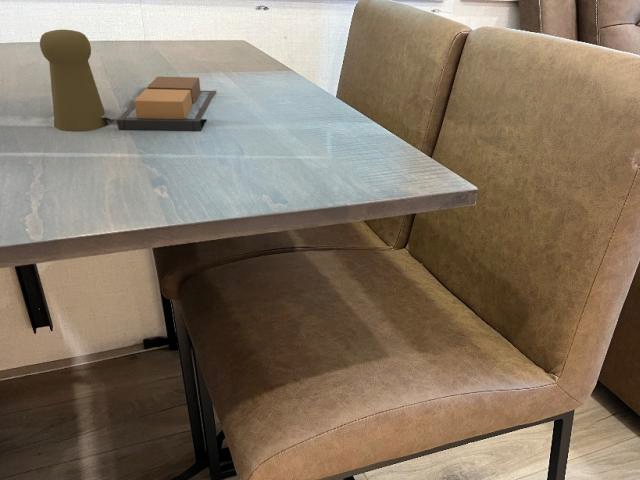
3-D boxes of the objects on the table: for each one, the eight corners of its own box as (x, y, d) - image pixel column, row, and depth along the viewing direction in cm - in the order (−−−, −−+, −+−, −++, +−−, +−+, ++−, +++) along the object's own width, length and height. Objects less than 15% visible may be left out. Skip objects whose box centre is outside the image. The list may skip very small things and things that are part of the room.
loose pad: (138, 127, 77) (133, 100, 76) (149, 114, 82) (145, 88, 81) (185, 127, 78) (182, 101, 76) (193, 114, 83) (190, 89, 82)
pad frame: (118, 133, 76) (116, 119, 76) (147, 100, 90) (145, 89, 89) (201, 134, 78) (199, 121, 77) (217, 102, 91) (216, 90, 90)
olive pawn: (97, 118, 81) (79, 25, 76) (117, 129, 78) (100, 32, 72) (47, 125, 77) (24, 28, 72) (66, 137, 74) (44, 36, 68)
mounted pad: (150, 112, 83) (146, 87, 82) (160, 100, 89) (157, 76, 87) (194, 112, 84) (191, 88, 82) (201, 100, 89) (199, 77, 88)
